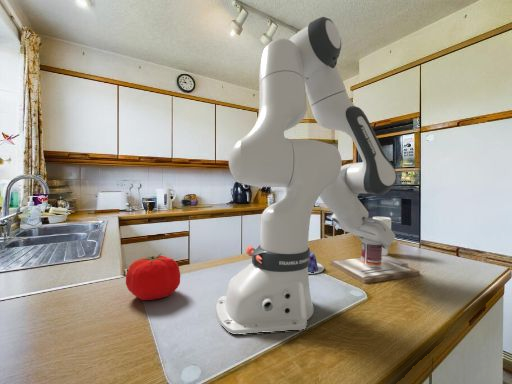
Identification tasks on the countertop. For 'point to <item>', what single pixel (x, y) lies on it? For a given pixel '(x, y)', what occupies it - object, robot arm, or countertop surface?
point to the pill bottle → (371, 253)
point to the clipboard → (375, 269)
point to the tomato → (153, 277)
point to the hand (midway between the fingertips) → (375, 243)
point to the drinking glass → (388, 223)
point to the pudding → (314, 264)
